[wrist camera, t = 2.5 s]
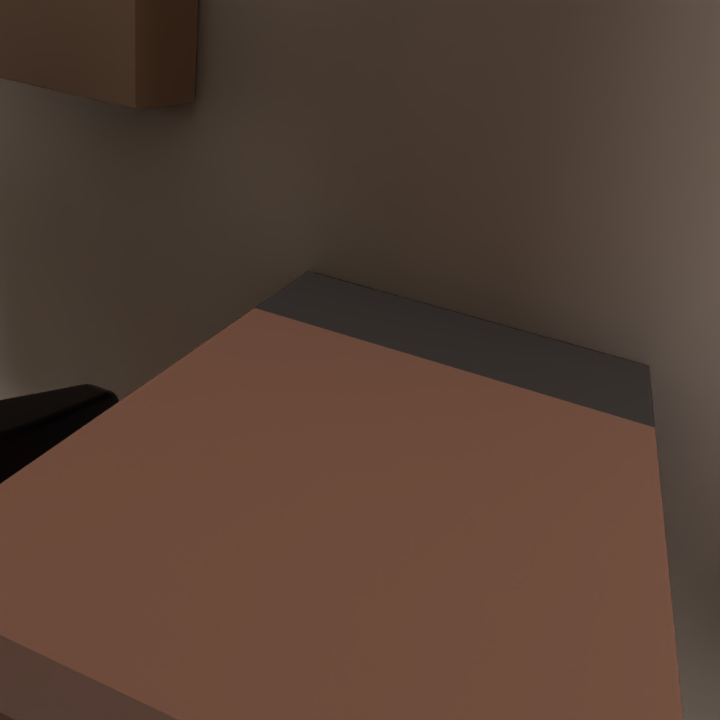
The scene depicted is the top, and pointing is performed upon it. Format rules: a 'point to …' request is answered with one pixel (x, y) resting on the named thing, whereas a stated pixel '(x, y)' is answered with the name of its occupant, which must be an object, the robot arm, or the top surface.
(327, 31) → the top surface
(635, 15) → the top surface
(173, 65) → the pin board
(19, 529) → the sleeve
